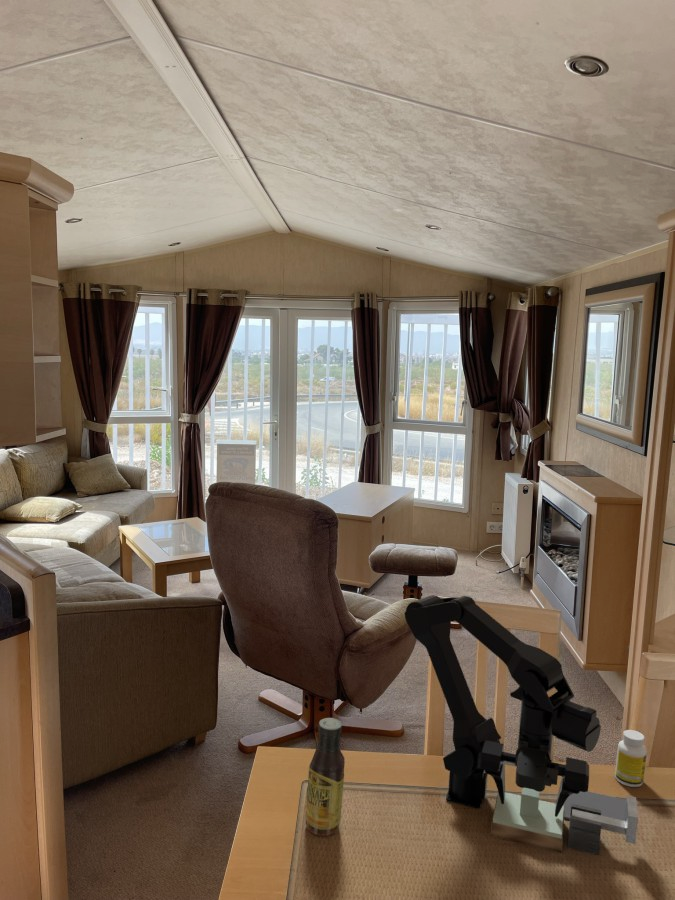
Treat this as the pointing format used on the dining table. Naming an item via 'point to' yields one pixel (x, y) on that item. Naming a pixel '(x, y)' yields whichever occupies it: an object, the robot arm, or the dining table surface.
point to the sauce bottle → (326, 781)
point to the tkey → (617, 825)
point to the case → (527, 836)
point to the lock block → (584, 831)
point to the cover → (529, 813)
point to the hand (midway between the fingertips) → (529, 809)
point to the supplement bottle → (631, 759)
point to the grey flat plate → (597, 804)
